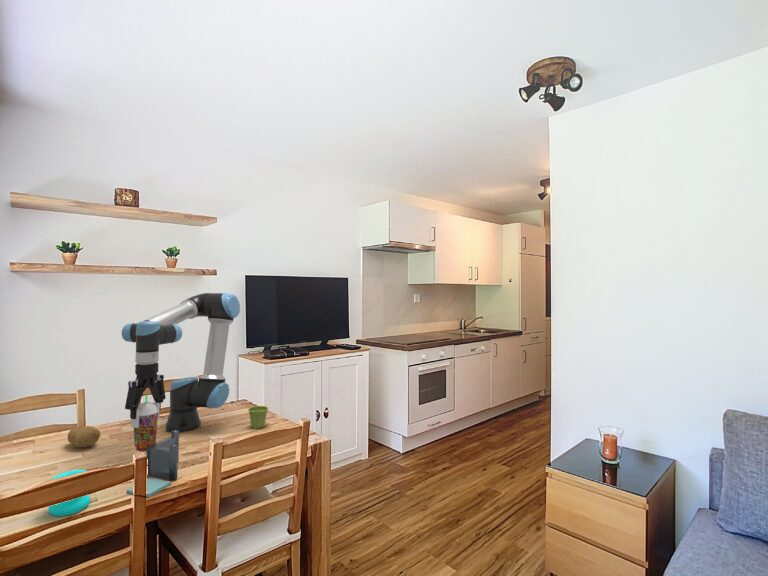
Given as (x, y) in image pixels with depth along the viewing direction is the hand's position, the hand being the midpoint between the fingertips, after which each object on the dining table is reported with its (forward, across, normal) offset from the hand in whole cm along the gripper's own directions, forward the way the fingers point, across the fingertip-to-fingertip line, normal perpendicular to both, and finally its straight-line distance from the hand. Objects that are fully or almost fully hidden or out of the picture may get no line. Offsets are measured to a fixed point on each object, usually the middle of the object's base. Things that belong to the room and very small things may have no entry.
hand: (145, 423), depth 153 cm
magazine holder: (+16, 0, -14) cm, 21 cm away
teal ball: (+16, -30, -4) cm, 35 cm away
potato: (+16, +6, +38) cm, 42 cm away
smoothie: (+10, 0, 0) cm, 10 cm away
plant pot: (+16, +50, -14) cm, 55 cm away
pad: (+16, -14, -16) cm, 26 cm away
